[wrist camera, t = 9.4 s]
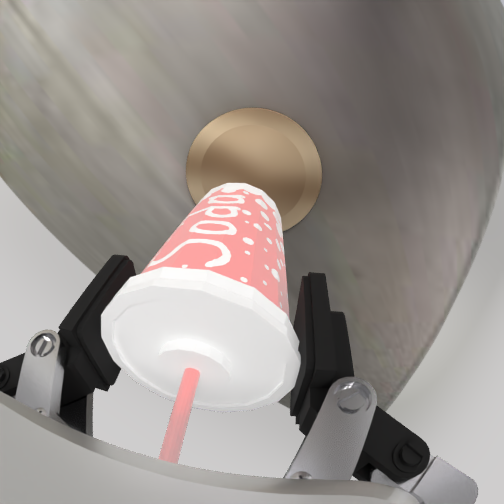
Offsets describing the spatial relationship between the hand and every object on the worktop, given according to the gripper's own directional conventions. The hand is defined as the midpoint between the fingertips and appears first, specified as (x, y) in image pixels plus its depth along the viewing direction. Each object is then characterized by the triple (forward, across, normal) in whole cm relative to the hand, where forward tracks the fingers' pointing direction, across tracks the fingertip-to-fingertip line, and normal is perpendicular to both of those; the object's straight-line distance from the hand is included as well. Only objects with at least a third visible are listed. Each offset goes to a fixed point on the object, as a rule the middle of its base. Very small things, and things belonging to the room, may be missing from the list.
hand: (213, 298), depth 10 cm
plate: (+15, 0, 0) cm, 15 cm away
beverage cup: (+6, 0, 0) cm, 6 cm away
